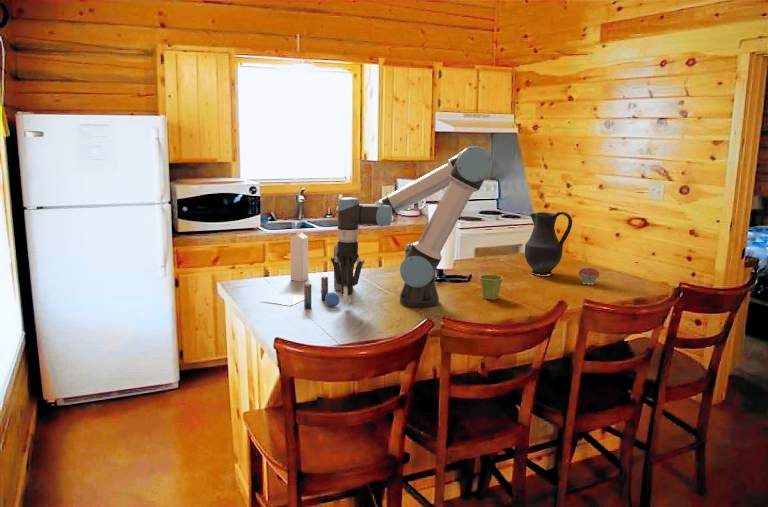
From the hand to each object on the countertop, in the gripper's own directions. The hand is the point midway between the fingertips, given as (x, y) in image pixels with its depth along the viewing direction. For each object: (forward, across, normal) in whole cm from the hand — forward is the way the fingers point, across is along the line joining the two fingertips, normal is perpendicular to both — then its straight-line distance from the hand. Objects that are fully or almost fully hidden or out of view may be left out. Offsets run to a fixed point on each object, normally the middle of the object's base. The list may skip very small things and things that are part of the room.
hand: (346, 303), depth 228 cm
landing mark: (+2, -27, 0) cm, 27 cm away
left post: (+2, -13, -6) cm, 15 cm away
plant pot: (+2, +44, +39) cm, 59 cm away
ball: (0, -6, 0) cm, 6 cm away
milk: (+3, -39, +30) cm, 49 cm away
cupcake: (+1, +77, +82) cm, 113 cm away
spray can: (+3, -14, +24) cm, 28 cm away
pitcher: (+2, +58, +91) cm, 107 cm away
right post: (+2, -13, +6) cm, 15 cm away
